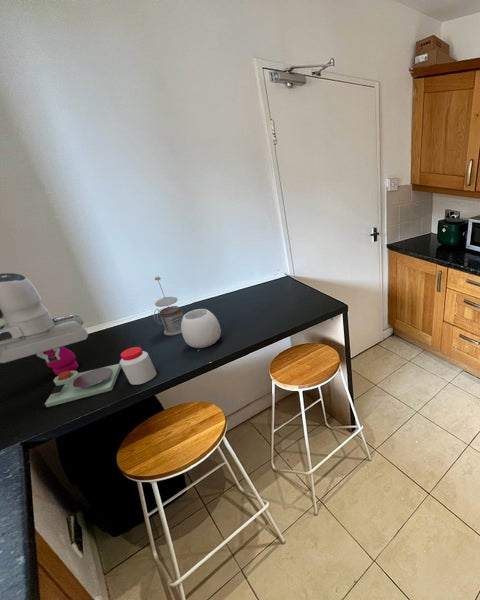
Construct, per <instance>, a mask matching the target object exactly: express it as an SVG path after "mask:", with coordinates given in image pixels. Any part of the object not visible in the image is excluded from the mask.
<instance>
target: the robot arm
mask: <svg viewBox="0 0 480 600" xmlns="http://www.w3.org/2000/svg"><path fill="white" fill-rule="evenodd" d="M42 299H43V298H42V297H41V295H40V293H39V292H38V290H37V288H36V287H35V285H34V284H33V283H32V281H31V280H30V279H28V278H27V277H26V276H25V275H22V274H21V273H15V272H14V273H13V272H5V273H3V272H2V273H0V320H4V322H5V323H2V324H1V325H0V364H6V363H9V362H12V361H16V360H19V359H23V358H27V357H31V356H34V355H36V357H38V358H40V359H43V360H45V362H46V361H47V363H50V362H53V361H56V360H60V356H59V352H60V347H61V346H64V347H65V346H68V345H71V344H76V343H79V342H82V341H85V340H87V339H88V337H89V333H88V331H87V328H86V327H85V326H84V320H83V318H82V317H81V316H80V315H77V314H67V315H65V316H60V317H56V318H53V317H52V315H51V313H50V311H49V309H48V308H47V307H46V306H45V305H44V304H43V301H42ZM51 349H53V351H56V352H55V354H53V355H49V356H48V355H46V353H45V352H46V351H48V350H51Z"/></svg>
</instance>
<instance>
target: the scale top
mask: <svg viewBox="0 0 480 600" xmlns="http://www.w3.org/2000/svg"><path fill="white" fill-rule="evenodd" d="M88 371H89V372H86V371H85V372H86V373H84V374H82V375H81V376H79V377H78V378H77V379H75V381H74V382H73V386H74V387H75V388H78V389H82V388H88V387H92V386H95V385H97V384H100V383H102V382H103V381H105V380H107V379H108V378H109V377H110V376H111V375H112V373H113V371H112V369H110V368H103V367H99V368H98V367H97V368H95V369H91V371H90V370H88ZM64 385H65V384H62V385H58V386H56V385H54V387H53V389H52V390H51V392H50V393H49V396H50V395H51V394H54V393H58V392H61V390H62V389H63V387H64Z"/></svg>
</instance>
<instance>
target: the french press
mask: <svg viewBox="0 0 480 600" xmlns="http://www.w3.org/2000/svg"><path fill="white" fill-rule="evenodd" d="M154 280H155V281H158V284H159V287H160V290H161V292H162V295H163V297H161V298H159V299H157V300H156V301H155V303H154V305H155V307H159V308H156V309H155V310H154V313H153V319H154V322H156V324H159V325H163V327H164V329H163V330H164V331H163V334H164V335H165V336H176V335H179V334H182V331H181V322H182V319H183V316H184V313H183V311H182V309H181V308H180V306H178V305H173V304H176V303H177V301H178V300H179V299H178V297H175V296H165V293H164V291H163V288H162V285H161V283H160V280H161V277H160V276H155V277H154ZM171 305H172V306H171ZM162 307H163V308H162ZM156 311H157V314H156ZM155 314H156V315H155ZM155 316H156V318H155ZM159 317H160V319H161V321H160V320H159ZM156 319H157V320H156Z"/></svg>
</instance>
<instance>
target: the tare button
mask: <svg viewBox="0 0 480 600" xmlns="http://www.w3.org/2000/svg"><path fill="white" fill-rule="evenodd" d="M57 376H58V377H59V378H60V380H64V379H67V378H70V377H71V376H72V373H71V372H70V371H65V372H62V373H60V374H59V375H57Z"/></svg>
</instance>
